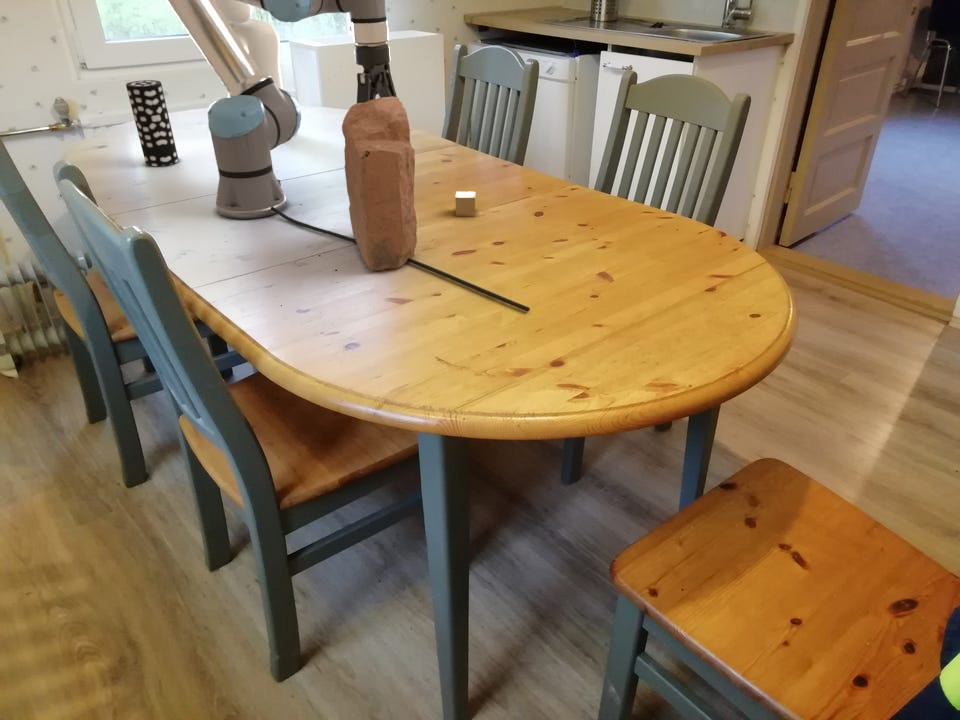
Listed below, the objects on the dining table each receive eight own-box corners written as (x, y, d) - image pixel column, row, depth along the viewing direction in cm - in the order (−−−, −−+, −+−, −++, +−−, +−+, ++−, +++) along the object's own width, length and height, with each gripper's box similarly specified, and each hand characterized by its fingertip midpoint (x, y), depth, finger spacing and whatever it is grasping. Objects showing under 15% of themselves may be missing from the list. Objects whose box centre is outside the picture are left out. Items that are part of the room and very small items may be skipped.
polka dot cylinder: (184, 157, 190) (167, 80, 179) (169, 166, 183) (151, 87, 172) (155, 156, 190) (136, 79, 179) (139, 165, 183) (119, 86, 172)
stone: (428, 267, 131) (421, 113, 117) (369, 275, 128) (354, 118, 114) (402, 230, 149) (394, 92, 134) (350, 236, 146) (336, 96, 131)
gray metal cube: (456, 209, 159) (456, 191, 156) (475, 210, 159) (475, 191, 156) (455, 216, 155) (455, 197, 153) (474, 216, 155) (474, 197, 153)
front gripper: (375, 35, 157) (384, 130, 169) (331, 52, 137) (345, 159, 148) (406, 35, 156) (413, 131, 167) (366, 53, 135) (377, 160, 147)
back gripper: (333, -64, 209) (338, 0, 218) (320, -62, 195) (327, 5, 204) (357, -63, 209) (362, 0, 218) (347, -62, 195) (352, 6, 204)
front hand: (381, 144), depth 158 cm, fingers open, 13 cm apart
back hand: (345, 2), depth 211 cm, fingers open, 9 cm apart
